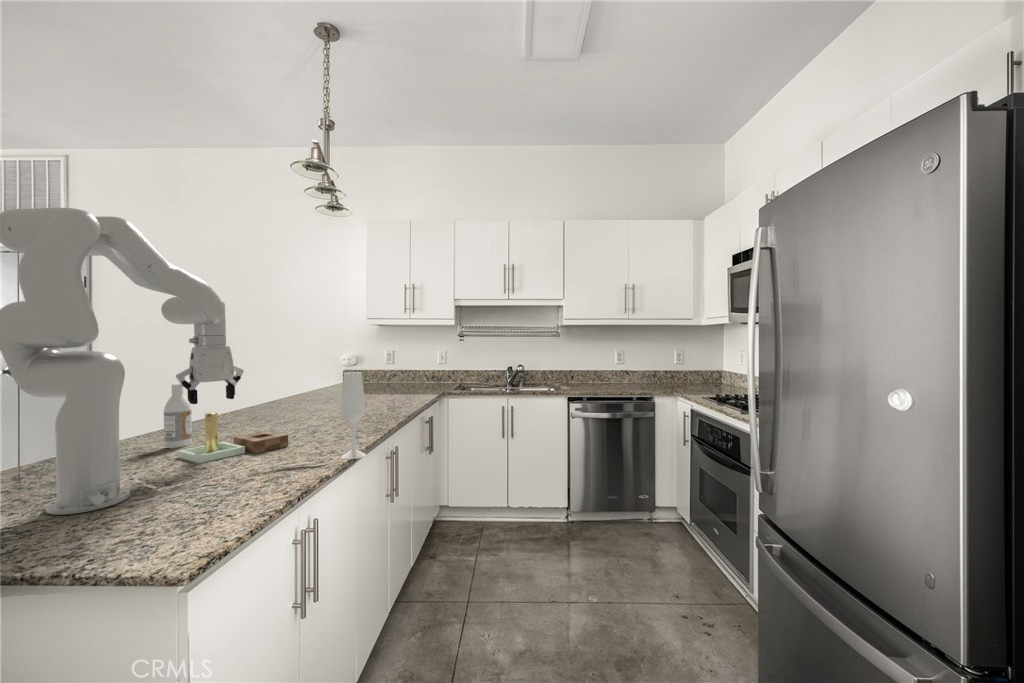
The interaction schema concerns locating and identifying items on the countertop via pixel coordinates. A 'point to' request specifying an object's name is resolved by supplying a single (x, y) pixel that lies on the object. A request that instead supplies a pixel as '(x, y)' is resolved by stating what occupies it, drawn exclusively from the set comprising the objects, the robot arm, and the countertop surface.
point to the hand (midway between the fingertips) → (212, 401)
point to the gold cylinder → (211, 432)
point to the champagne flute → (353, 407)
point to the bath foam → (177, 419)
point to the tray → (200, 453)
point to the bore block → (262, 441)
